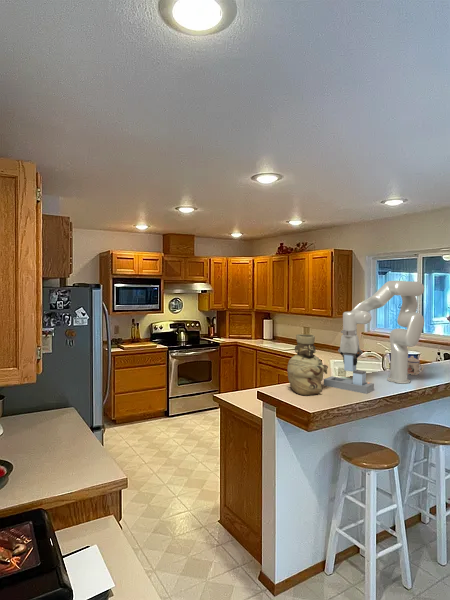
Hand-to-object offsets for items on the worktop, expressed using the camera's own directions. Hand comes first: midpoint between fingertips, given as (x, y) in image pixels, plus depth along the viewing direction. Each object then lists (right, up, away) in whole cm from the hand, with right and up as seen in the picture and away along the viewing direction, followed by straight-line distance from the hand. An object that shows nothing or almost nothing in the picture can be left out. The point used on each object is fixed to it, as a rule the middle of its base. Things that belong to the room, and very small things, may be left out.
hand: (350, 364), depth 229 cm
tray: (-1, -12, 0) cm, 12 cm away
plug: (0, -4, 0) cm, 4 cm away
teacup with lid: (+50, -12, +29) cm, 59 cm away
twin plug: (-1, -11, -18) cm, 21 cm away
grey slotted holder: (-6, -12, -14) cm, 19 cm away
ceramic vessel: (-29, -12, -17) cm, 36 cm away
